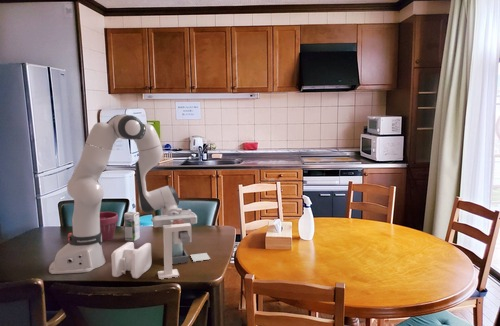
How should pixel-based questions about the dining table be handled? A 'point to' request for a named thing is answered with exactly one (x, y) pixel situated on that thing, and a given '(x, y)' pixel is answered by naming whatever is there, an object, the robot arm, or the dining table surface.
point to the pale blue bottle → (177, 249)
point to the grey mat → (200, 257)
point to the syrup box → (132, 226)
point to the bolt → (182, 233)
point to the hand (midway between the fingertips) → (177, 225)
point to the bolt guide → (167, 238)
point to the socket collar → (181, 258)
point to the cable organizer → (131, 260)
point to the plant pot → (108, 224)
